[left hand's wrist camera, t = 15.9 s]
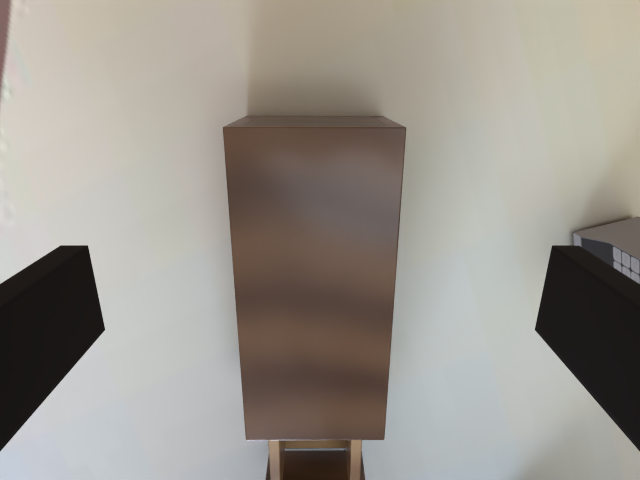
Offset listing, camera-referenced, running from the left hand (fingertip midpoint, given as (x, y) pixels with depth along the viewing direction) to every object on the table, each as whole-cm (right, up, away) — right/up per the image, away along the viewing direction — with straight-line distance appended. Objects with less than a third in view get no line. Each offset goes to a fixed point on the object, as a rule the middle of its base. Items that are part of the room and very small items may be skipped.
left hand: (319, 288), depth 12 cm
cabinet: (0, 0, +22) cm, 22 cm away
